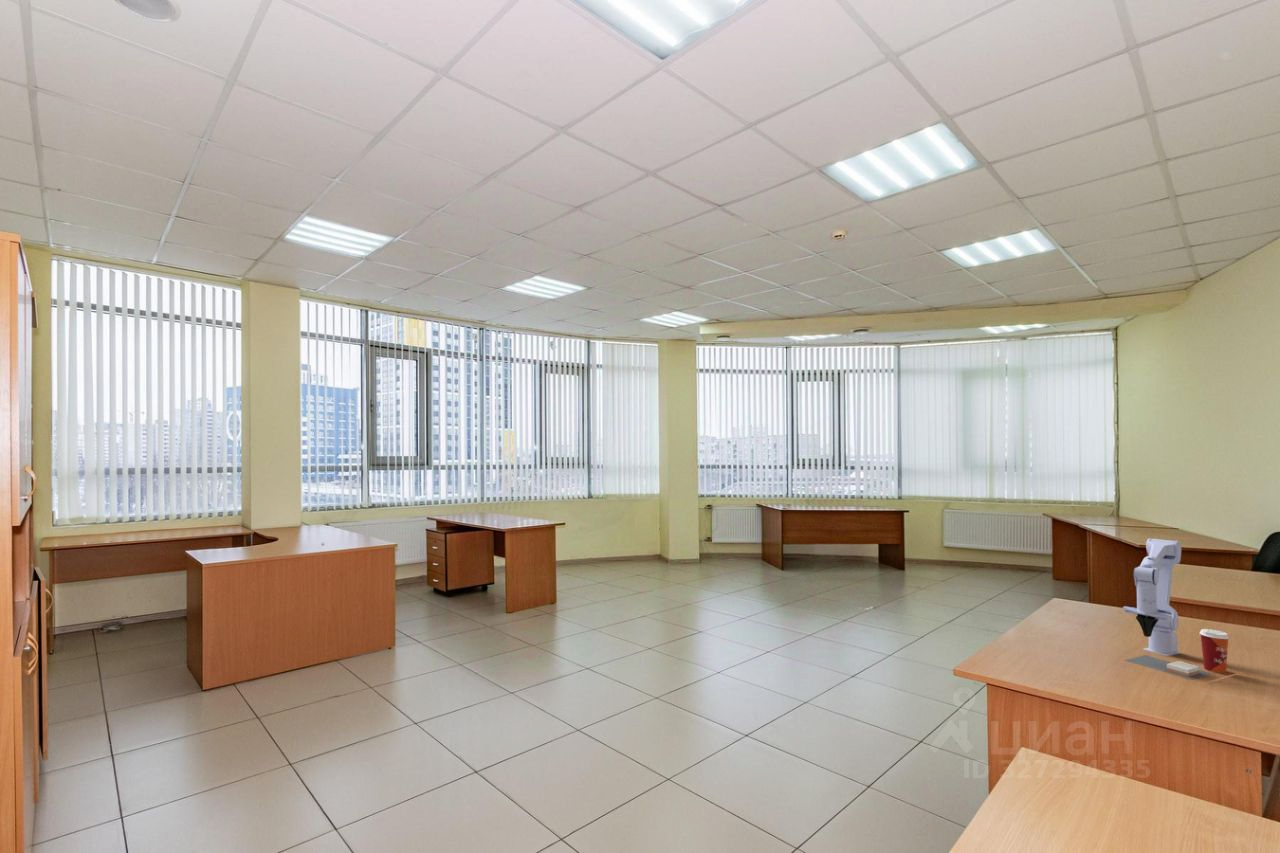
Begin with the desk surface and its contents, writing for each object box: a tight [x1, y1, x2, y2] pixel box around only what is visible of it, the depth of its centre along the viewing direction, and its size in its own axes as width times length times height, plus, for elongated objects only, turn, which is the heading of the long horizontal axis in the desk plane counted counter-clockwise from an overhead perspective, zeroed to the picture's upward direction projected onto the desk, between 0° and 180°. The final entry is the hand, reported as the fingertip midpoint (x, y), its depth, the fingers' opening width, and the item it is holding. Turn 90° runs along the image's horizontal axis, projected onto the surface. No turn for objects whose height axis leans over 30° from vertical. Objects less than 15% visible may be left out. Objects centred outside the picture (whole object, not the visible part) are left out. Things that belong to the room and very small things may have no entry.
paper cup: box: [1199, 628, 1230, 674], centre depth 212 cm, size 8×8×14 cm
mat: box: [1124, 654, 1213, 681], centre depth 214 cm, size 14×20×1 cm
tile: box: [1167, 660, 1201, 677], centre depth 209 cm, size 8×2×6 cm
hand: (1147, 636), depth 221 cm, fingers closed
